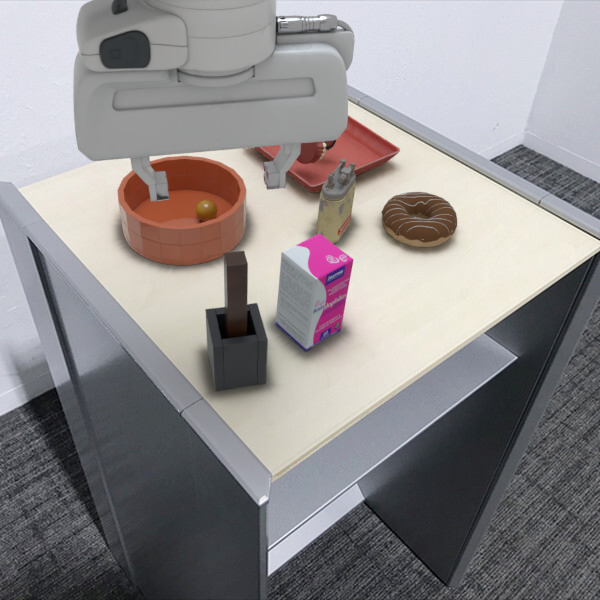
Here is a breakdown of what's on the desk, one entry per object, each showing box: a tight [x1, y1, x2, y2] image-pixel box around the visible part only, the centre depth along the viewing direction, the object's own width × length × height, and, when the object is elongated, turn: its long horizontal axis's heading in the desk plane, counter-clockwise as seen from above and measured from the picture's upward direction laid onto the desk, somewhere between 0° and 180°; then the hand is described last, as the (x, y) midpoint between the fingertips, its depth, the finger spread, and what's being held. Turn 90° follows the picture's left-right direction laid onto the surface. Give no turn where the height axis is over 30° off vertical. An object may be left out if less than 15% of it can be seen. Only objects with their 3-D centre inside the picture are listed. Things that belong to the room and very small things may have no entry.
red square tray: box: [253, 114, 401, 194], centre depth 105 cm, size 18×18×3 cm
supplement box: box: [274, 234, 354, 352], centre depth 75 cm, size 6×6×12 cm
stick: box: [223, 250, 249, 339], centre depth 69 cm, size 2×2×16 cm
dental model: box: [296, 139, 337, 164], centre depth 99 cm, size 6×4×8 cm
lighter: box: [315, 159, 357, 244], centre depth 90 cm, size 7×4×10 cm, turn 155°
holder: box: [205, 302, 269, 392], centre depth 72 cm, size 6×6×7 cm
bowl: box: [116, 155, 247, 266], centre depth 90 cm, size 17×17×6 cm
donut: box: [381, 191, 458, 248], centre depth 93 cm, size 11×11×4 cm
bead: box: [195, 199, 217, 222], centre depth 91 cm, size 3×3×3 cm
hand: (217, 190), depth 55 cm, fingers open, 8 cm apart
